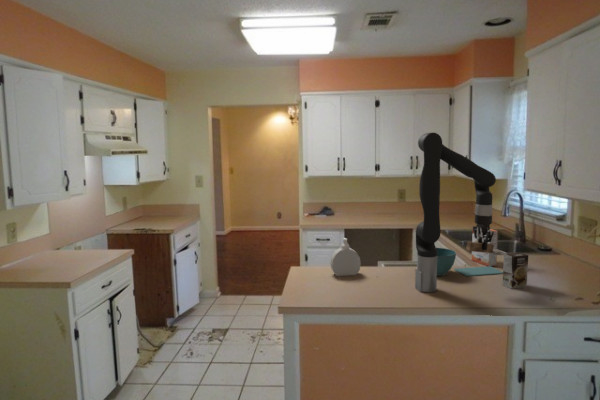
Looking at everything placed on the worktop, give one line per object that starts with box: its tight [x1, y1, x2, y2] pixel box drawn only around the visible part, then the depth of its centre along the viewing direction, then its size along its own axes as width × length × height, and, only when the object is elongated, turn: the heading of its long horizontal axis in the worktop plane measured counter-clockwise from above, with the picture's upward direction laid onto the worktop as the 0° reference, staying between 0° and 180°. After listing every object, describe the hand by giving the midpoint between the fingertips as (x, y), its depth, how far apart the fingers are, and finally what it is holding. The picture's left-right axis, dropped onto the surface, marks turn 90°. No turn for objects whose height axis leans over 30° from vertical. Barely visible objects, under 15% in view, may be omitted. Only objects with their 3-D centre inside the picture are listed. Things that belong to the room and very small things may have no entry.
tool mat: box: [453, 266, 503, 277], centre depth 218 cm, size 22×12×1 cm, turn 98°
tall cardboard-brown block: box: [465, 240, 508, 256], centre depth 190 cm, size 18×7×4 cm, turn 99°
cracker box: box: [471, 228, 499, 267], centre depth 232 cm, size 14×6×21 cm, turn 17°
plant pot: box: [436, 247, 457, 277], centre depth 216 cm, size 18×18×12 cm
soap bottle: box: [329, 237, 362, 277], centre depth 217 cm, size 16×5×20 cm, turn 97°
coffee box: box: [502, 252, 529, 290], centre depth 194 cm, size 9×6×16 cm
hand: (482, 249), depth 190 cm, fingers closed on tall cardboard-brown block, 3 cm apart
